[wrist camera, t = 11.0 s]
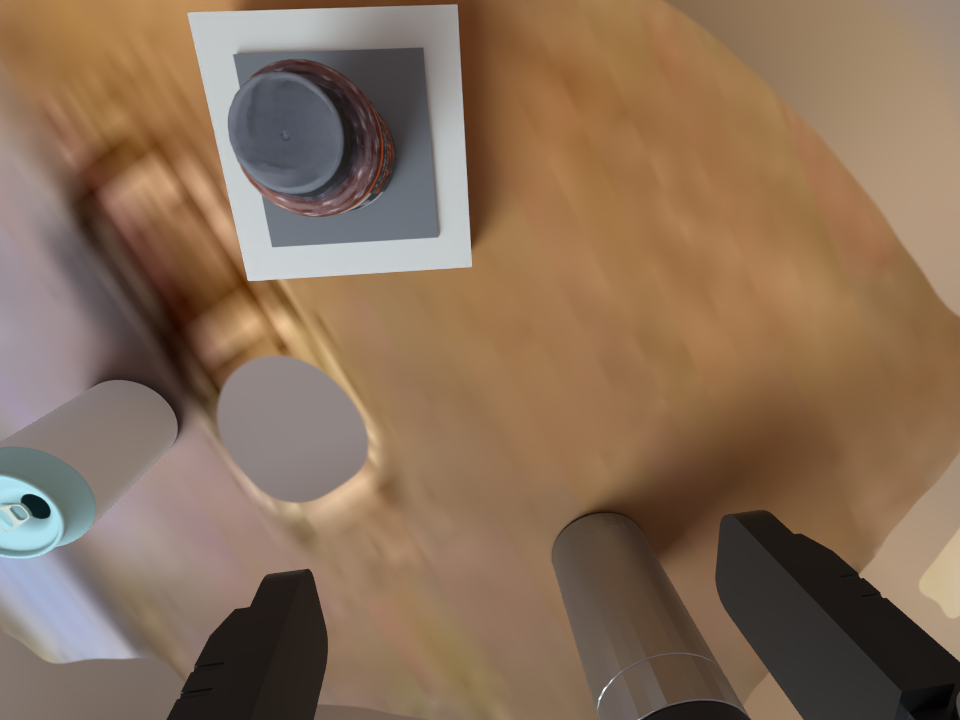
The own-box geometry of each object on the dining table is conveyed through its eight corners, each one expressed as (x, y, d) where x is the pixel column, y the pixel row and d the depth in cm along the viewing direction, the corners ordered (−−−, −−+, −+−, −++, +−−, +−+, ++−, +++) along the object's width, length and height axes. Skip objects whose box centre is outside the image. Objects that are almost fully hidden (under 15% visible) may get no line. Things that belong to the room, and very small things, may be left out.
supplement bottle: (406, 202, 28) (387, 215, 18) (306, 215, 28) (226, 236, 17) (386, 88, 26) (352, 26, 16) (278, 102, 26) (168, 48, 15)
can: (106, 359, 36) (-46, 441, 24) (197, 406, 37) (94, 502, 26) (71, 428, 37) (-87, 535, 26) (159, 470, 39) (48, 586, 28)
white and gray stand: (467, 255, 35) (472, 267, 30) (274, 267, 34) (245, 282, 29) (454, 31, 30) (457, 1, 25) (227, 39, 29) (183, 10, 24)
